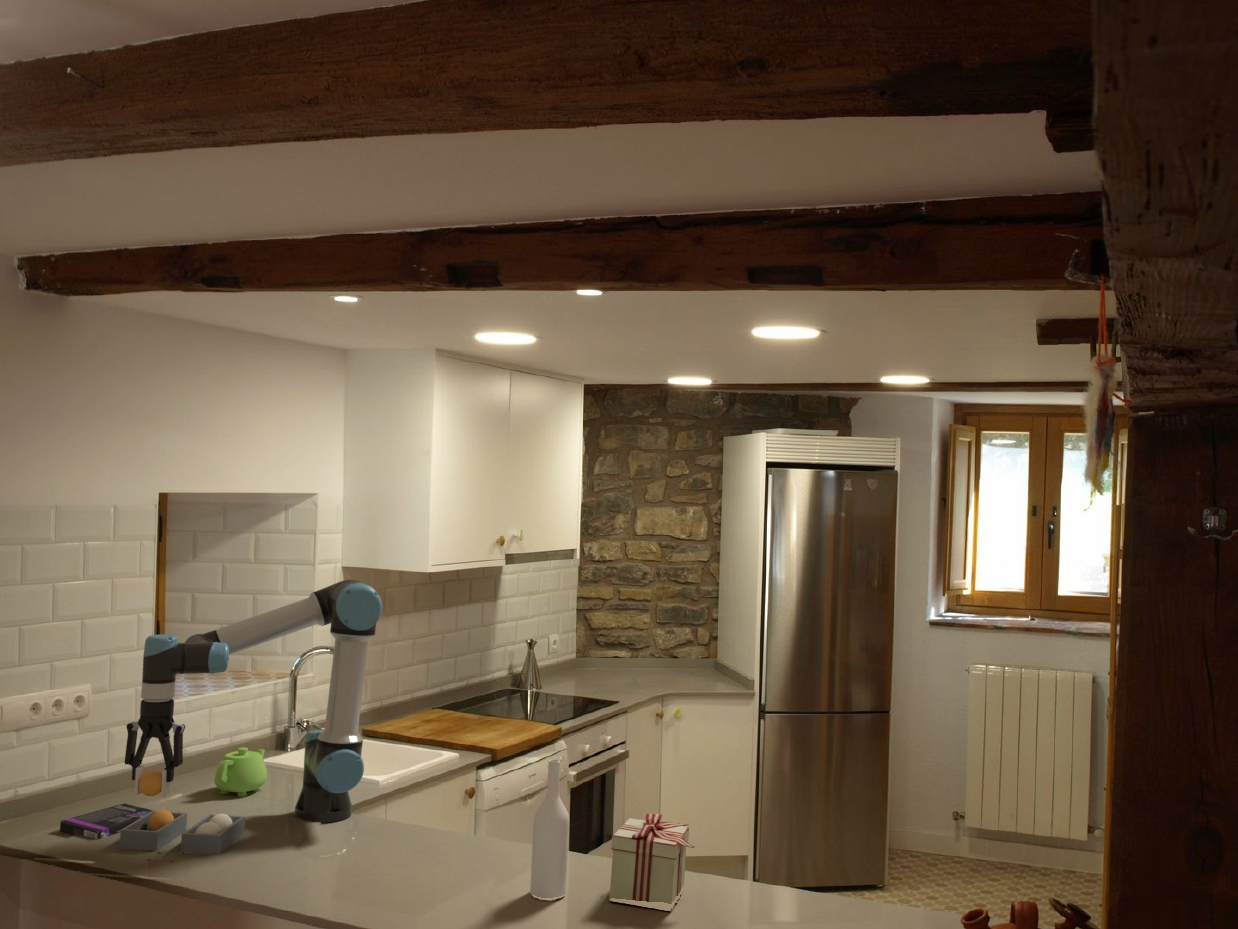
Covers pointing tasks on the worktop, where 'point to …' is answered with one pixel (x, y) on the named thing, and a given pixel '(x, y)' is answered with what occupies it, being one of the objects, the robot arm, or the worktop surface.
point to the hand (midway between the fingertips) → (151, 794)
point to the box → (103, 821)
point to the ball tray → (144, 839)
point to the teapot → (241, 772)
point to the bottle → (550, 841)
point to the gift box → (649, 860)
